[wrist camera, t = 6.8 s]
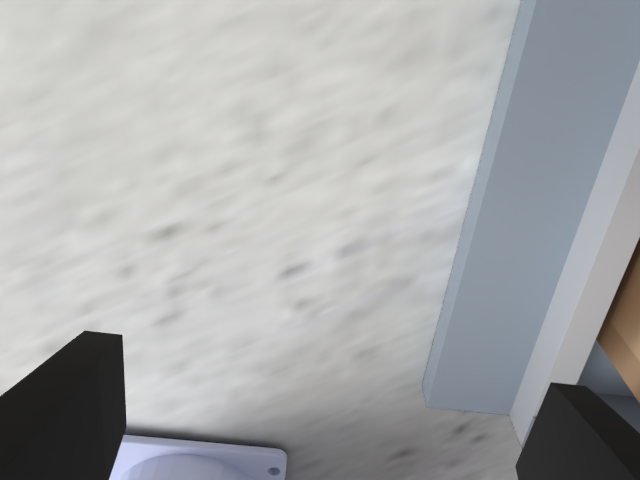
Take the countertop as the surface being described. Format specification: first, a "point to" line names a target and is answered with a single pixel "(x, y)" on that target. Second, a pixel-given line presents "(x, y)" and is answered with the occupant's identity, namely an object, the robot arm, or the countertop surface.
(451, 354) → the floor track
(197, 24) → the countertop surface
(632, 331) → the door slab
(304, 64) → the countertop surface
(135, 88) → the countertop surface
